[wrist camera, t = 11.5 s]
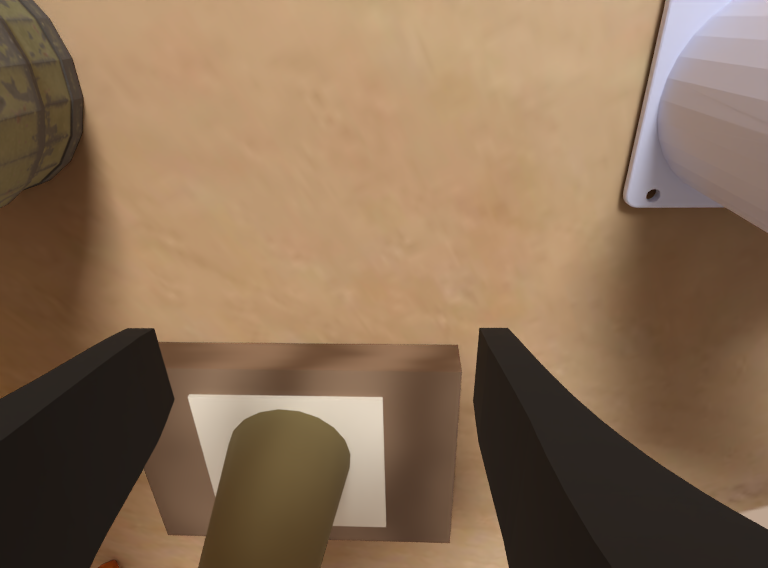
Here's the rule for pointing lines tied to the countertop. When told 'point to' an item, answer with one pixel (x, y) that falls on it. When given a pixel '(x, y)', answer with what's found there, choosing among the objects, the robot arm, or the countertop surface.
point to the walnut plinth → (332, 405)
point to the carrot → (110, 564)
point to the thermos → (34, 99)
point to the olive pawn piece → (277, 493)
